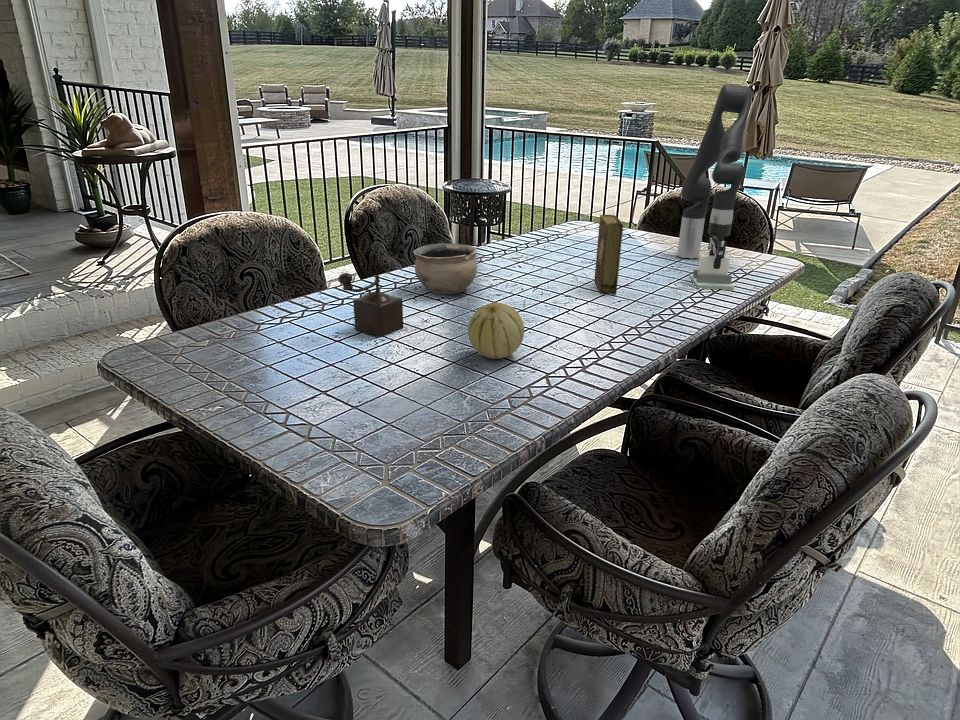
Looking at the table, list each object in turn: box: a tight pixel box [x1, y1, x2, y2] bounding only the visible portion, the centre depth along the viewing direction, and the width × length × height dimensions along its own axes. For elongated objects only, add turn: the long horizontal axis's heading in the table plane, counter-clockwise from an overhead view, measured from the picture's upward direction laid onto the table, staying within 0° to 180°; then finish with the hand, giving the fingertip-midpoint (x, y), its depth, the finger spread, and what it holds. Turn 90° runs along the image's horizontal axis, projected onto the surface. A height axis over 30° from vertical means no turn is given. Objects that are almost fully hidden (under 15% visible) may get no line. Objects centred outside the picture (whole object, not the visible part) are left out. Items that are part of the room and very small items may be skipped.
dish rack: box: [688, 269, 735, 291], centre depth 236 cm, size 14×13×4 cm
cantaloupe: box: [467, 302, 525, 360], centre depth 167 cm, size 15×15×15 cm
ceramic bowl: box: [413, 242, 478, 295], centre depth 221 cm, size 22×22×15 cm
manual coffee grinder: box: [337, 272, 404, 338], centre depth 182 cm, size 16×11×18 cm
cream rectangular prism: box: [697, 254, 731, 275], centre depth 235 cm, size 3×10×9 cm, turn 84°
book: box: [593, 214, 624, 296], centre depth 225 cm, size 16×6×25 cm, turn 179°
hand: (713, 265), depth 235 cm, fingers open, 8 cm apart
